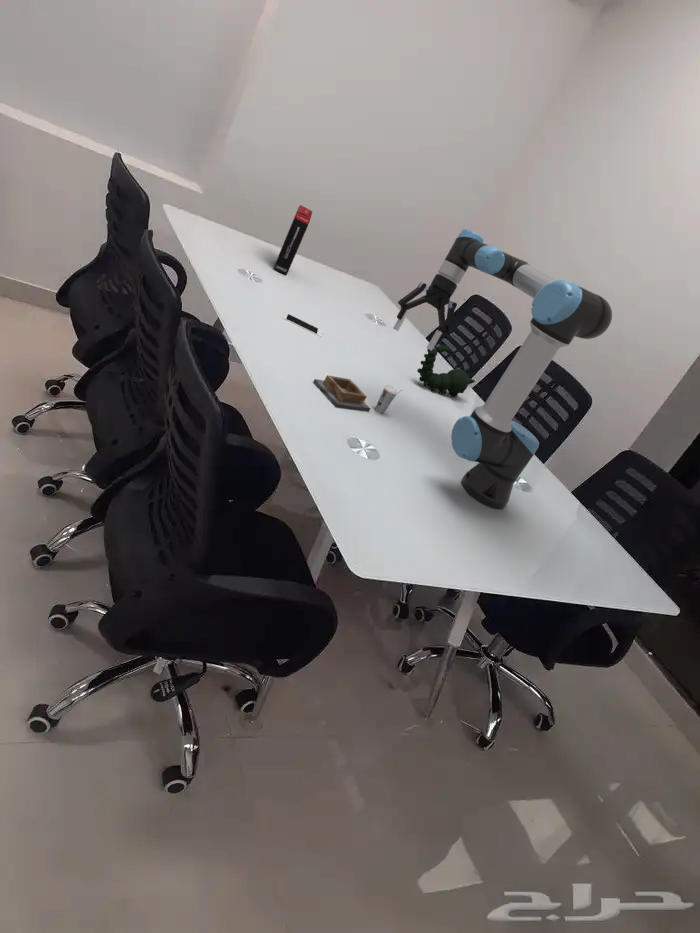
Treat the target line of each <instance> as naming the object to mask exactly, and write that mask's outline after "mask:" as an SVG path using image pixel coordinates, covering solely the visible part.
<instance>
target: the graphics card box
mask: <svg viewBox="0 0 700 933" xmlns="http://www.w3.org/2000/svg"><path fill="white" fill-rule="evenodd" d="M312 215H313V211H312V210H310V209H309V208H307V207H306V206H304V205H302V204H300V205H299V206H298V208H297V210H296V212H295V215H294V217H293V220H292V222H291V224H290V226H289V229H288V232H287V233H286V237H285V239H284V240H283V244H282V245H281V249H280V251H279V253H278V257H277V259H276V261H275V264H274V266H273V270H274V271H275V272H278V273H280V274H282V275H284V276H287V275H288V273H289V272H290V268H291V266H292V264H293V261H294V259H295V257H296V254H297V252H298V250H299V248H300V245H301V244H302V241H303V238H304V237H305V233H306V232H307V229H308V227H309V224H310V223H311V222H310V221H311V219H312Z"/></svg>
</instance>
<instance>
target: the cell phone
mask: <svg viewBox="0 0 700 933" xmlns="http://www.w3.org/2000/svg"><path fill="white" fill-rule="evenodd" d="M282 319H283V320H285V321H288V322H290V323H291V324H293V325H295V326H298V327H299V328H302V329H303V330H305V331H308V332H309V333H312V334H314V335H316V336H318V337H320V338H322V337H323V333H324V330H323V329H321V328H319V327H316V326H314V325H312V324H310V323H308V322H307V321H305V320H303V319H300V318H298V317H296V316H294V315H292V314H289V313H288V312H283V314H282Z"/></svg>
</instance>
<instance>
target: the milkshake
mask: <svg viewBox="0 0 700 933" xmlns="http://www.w3.org/2000/svg"><path fill="white" fill-rule="evenodd" d="M402 390H403V389H401V390H400V391H399V392H398V390H397V389H396V388H395V386H392V385H389V384H388V385H384V387H383V390H382V392H381V394H380V396H379V398H378V401H377V403H376V404H375V407H374V410H375V412H377V413H379V414H382V415H383V414H385V412H386V411H387V409H388V408H389V406H390V405H391V403H392V402H393V400H394V399H395V398H396V396H397V395H398V393H400V392H401V391H402Z"/></svg>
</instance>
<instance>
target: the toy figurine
mask: <svg viewBox="0 0 700 933" xmlns="http://www.w3.org/2000/svg"><path fill="white" fill-rule="evenodd" d="M426 351H427V353H424V355H423V357H424V360H421V361H420V365H422V367H421V368H420V367H419V368H417V373H419V375H420V376H419V382H422V386H423V387H428V388H429V389H430V390H431V392H432V393H435V392H436V391H437V390H439V392H440V394H441V395H446V394H447V392H448V395H449V396H450V397H451V398H457V397H458V395H459V394H464V393H465V391H466V390H467V388H468V386H469V385H470V384H473V383H475V382H476V380H474V379H473V378H471V377H469V375H468V373H467V372H466V371H465V370H463V369H461V368H454V369H451V370H449V371H447V372H441V373H436V372H434V370H433V369H434V367H435V362H436V357H437V356H438V353H443V352H446V353H447V355H449V354H450V353H451V351H450V348H449V347H448V346H447V345H445V344H444V345H443V344H442V345H438V346H437V347H436V348H435V347H434V348H433V349H432V351H431V350H429V349H428V348H426Z"/></svg>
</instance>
